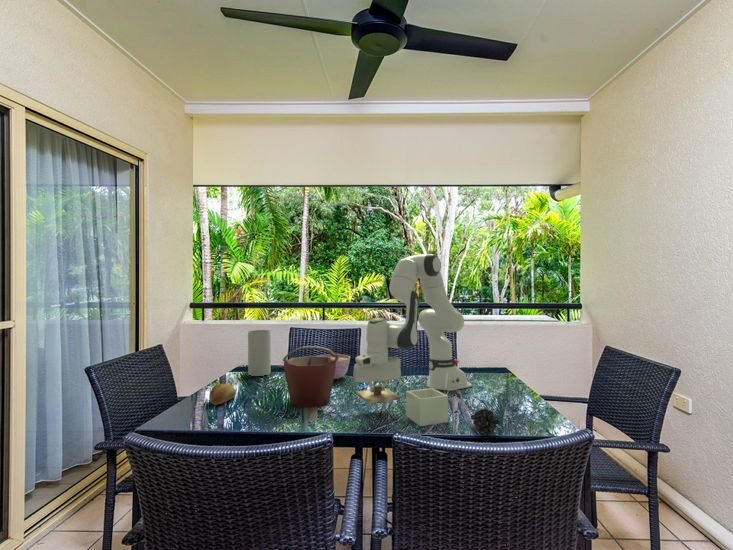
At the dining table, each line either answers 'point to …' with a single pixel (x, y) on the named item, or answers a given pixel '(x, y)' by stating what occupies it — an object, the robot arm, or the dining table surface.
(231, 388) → the bread roll
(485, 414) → the pine cone
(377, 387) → the lid
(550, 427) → the dining table surface
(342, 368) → the bowl of food
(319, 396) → the bucket
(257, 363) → the cylinder vase
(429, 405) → the bin
